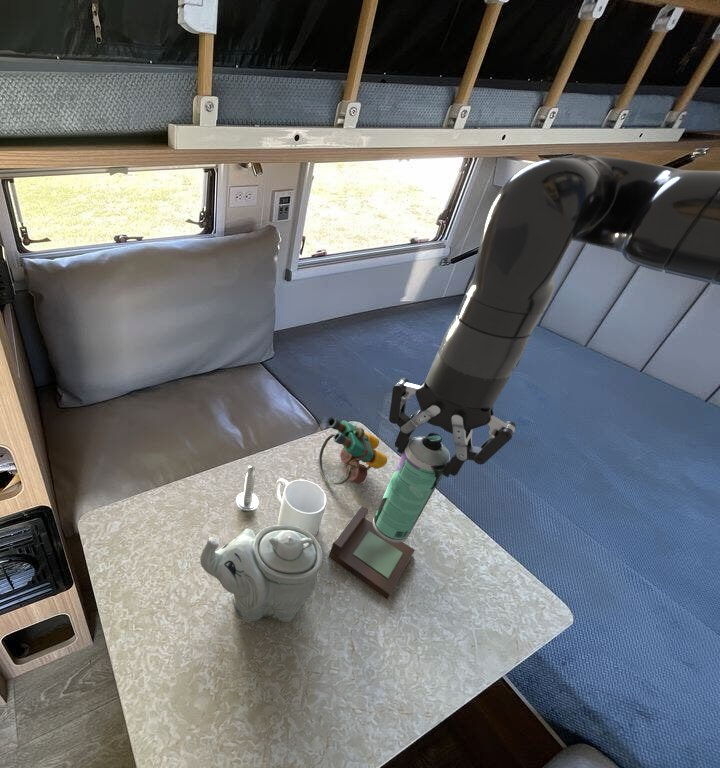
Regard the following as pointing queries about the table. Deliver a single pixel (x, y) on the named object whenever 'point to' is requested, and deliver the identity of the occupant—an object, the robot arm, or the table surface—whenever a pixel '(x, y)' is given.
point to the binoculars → (354, 450)
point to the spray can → (411, 487)
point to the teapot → (266, 570)
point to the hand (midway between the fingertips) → (424, 460)
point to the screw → (248, 493)
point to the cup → (301, 504)
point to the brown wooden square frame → (370, 554)
